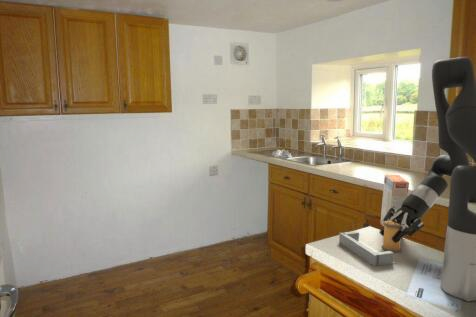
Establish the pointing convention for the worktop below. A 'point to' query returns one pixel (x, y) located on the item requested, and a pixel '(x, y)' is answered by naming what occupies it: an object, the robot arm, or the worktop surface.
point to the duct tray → (365, 249)
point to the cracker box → (393, 194)
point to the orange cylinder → (389, 232)
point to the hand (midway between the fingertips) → (387, 237)
